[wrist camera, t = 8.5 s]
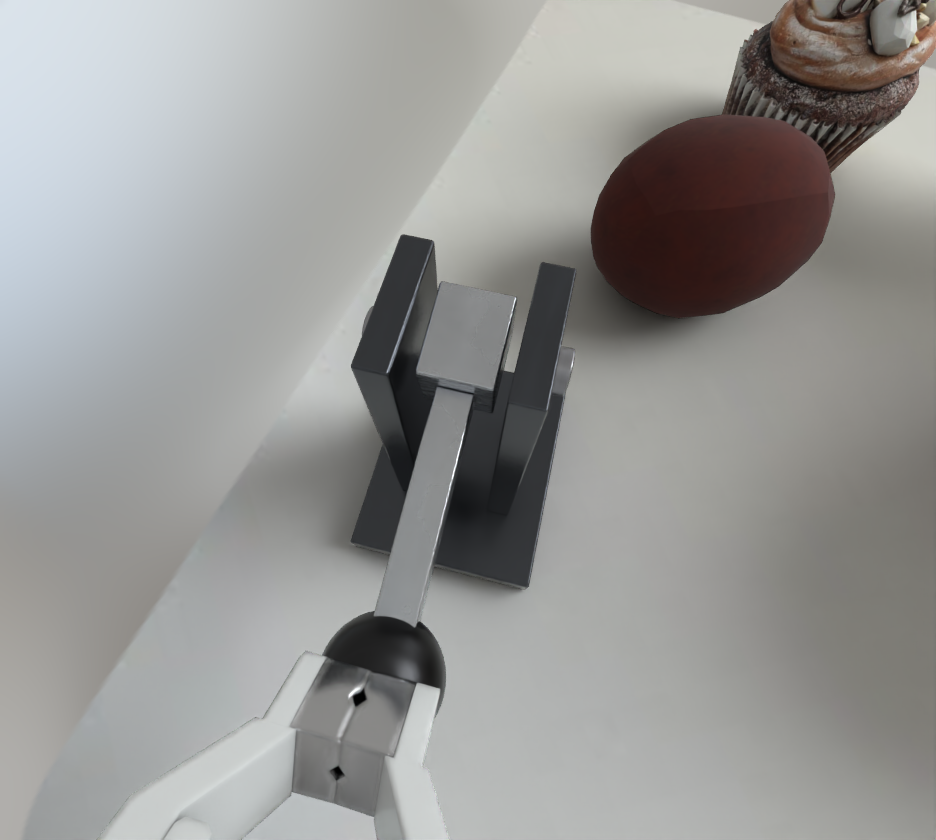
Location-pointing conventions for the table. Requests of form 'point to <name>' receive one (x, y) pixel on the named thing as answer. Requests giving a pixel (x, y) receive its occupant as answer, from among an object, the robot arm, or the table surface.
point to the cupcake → (834, 68)
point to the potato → (712, 214)
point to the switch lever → (432, 481)
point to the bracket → (489, 436)
